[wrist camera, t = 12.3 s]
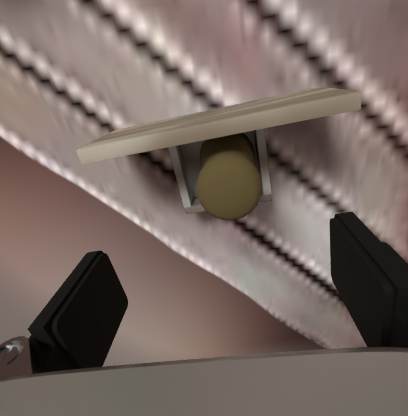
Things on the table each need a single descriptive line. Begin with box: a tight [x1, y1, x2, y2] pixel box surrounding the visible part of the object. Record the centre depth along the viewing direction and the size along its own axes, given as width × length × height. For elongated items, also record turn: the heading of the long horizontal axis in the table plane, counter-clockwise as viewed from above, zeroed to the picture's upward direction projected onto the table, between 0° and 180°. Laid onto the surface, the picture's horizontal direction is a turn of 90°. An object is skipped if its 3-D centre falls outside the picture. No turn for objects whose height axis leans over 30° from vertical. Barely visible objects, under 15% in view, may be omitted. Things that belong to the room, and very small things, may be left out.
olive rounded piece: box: [196, 133, 263, 220], centre depth 24 cm, size 6×6×11 cm
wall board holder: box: [76, 87, 362, 214], centre depth 26 cm, size 10×22×9 cm, turn 102°
